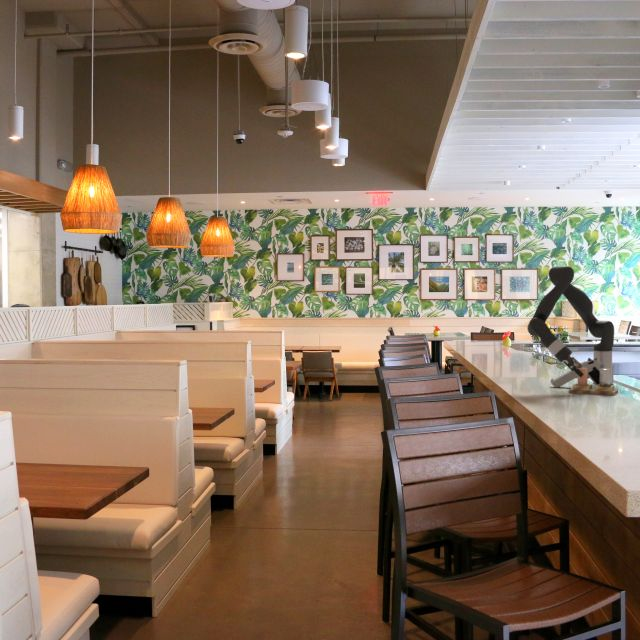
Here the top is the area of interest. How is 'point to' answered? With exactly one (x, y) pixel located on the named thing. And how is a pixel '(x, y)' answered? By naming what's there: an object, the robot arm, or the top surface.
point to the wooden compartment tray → (593, 390)
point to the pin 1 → (583, 377)
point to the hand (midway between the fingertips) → (584, 375)
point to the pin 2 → (604, 377)
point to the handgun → (592, 373)
